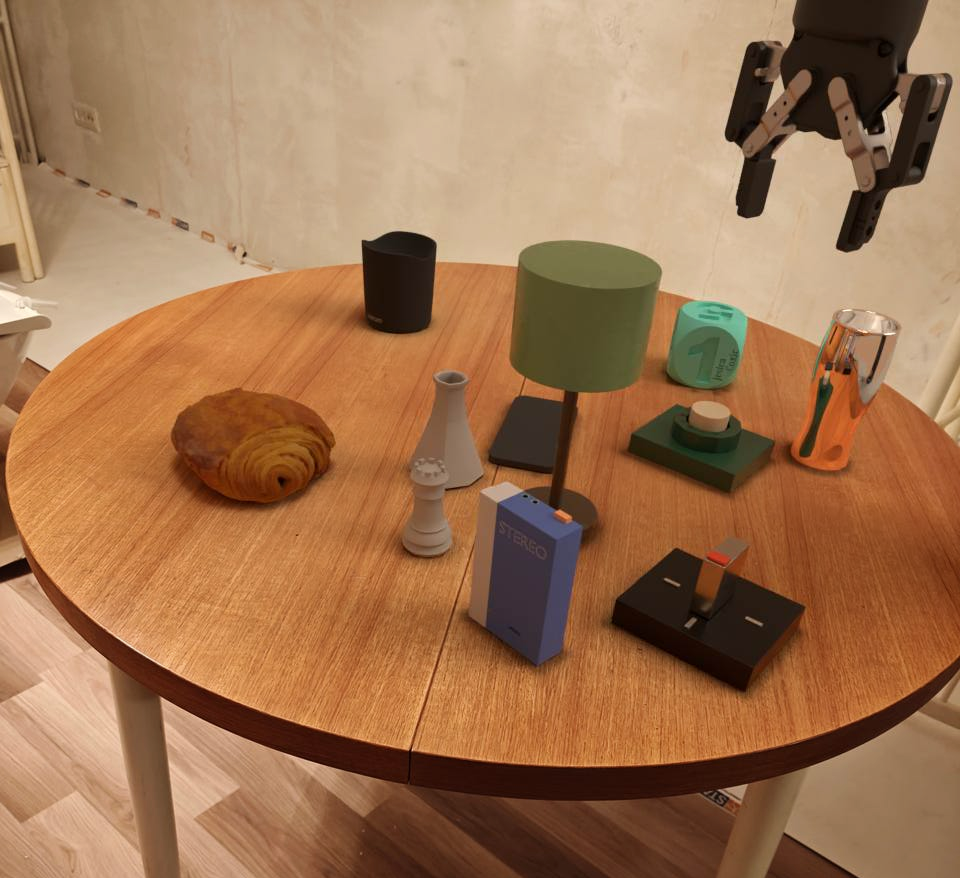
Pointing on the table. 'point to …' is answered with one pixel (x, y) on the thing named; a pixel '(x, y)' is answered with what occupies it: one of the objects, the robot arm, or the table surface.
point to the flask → (450, 432)
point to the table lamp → (580, 336)
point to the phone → (529, 434)
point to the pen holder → (399, 281)
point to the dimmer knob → (719, 576)
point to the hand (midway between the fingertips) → (796, 232)
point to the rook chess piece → (428, 511)
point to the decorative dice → (706, 344)
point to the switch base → (702, 449)
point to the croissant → (253, 444)
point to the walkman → (523, 570)
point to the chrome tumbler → (844, 385)
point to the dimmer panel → (707, 621)
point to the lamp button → (709, 416)
